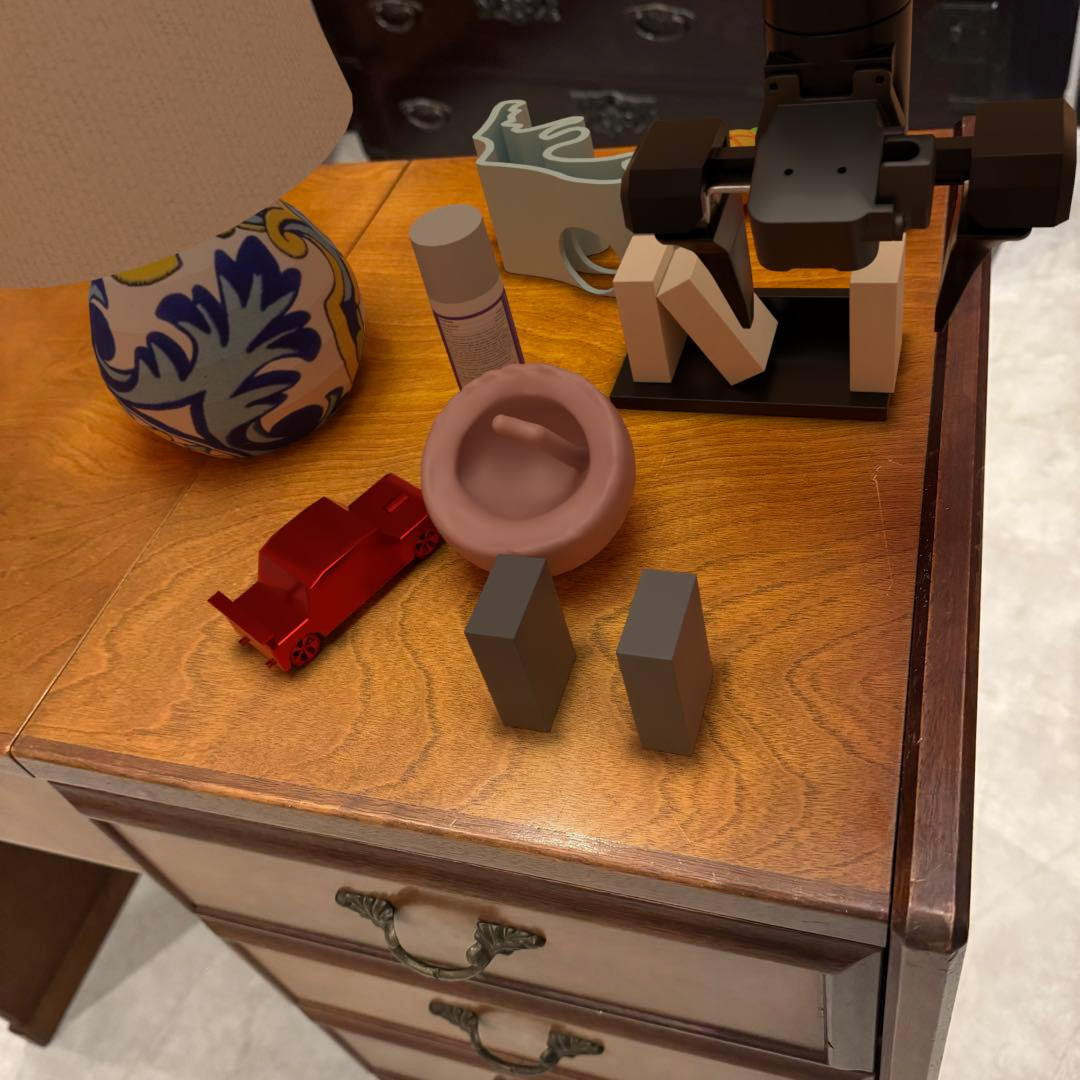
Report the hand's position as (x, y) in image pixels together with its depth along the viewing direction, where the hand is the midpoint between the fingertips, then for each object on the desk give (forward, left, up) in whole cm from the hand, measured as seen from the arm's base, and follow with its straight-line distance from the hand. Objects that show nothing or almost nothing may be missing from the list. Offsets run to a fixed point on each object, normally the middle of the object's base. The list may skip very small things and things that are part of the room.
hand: (840, 325), depth 53 cm
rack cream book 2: (+7, -11, -10) cm, 16 cm away
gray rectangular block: (+6, +16, -12) cm, 21 cm away
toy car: (+28, +11, -12) cm, 32 cm away
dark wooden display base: (+7, -11, -12) cm, 17 cm away
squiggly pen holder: (+23, -25, -12) cm, 36 cm away
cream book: (-1, -10, -11) cm, 15 cm away
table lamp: (+43, -6, -12) cm, 45 cm away
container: (+23, -5, -12) cm, 27 cm away
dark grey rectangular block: (+14, +16, -12) cm, 24 cm away
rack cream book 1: (+13, -11, -11) cm, 20 cm away
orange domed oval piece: (+12, -33, -12) cm, 37 cm away
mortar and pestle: (+16, +6, -12) cm, 21 cm away
